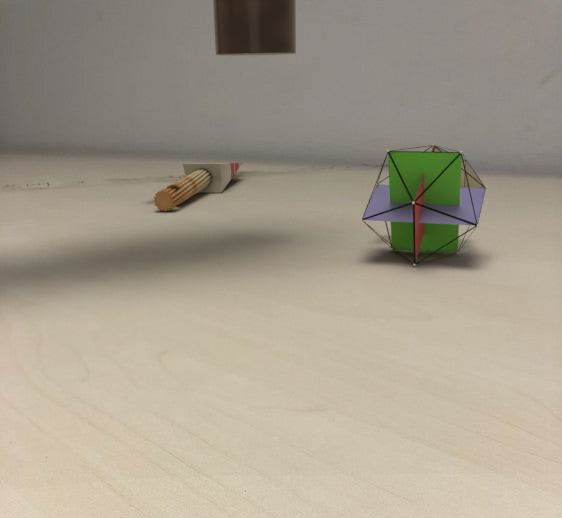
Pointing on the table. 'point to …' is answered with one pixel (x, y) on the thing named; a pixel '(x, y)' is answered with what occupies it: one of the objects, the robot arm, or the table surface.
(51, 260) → the table surface
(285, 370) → the table surface
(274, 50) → the pepper mill
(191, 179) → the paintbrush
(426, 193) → the geometric puzzle
